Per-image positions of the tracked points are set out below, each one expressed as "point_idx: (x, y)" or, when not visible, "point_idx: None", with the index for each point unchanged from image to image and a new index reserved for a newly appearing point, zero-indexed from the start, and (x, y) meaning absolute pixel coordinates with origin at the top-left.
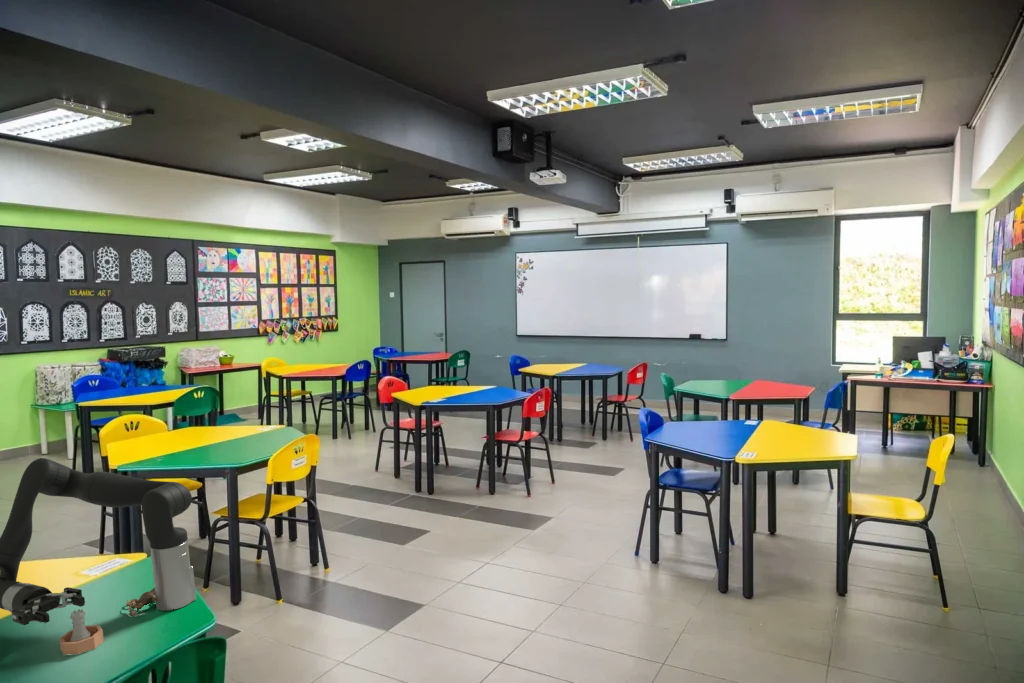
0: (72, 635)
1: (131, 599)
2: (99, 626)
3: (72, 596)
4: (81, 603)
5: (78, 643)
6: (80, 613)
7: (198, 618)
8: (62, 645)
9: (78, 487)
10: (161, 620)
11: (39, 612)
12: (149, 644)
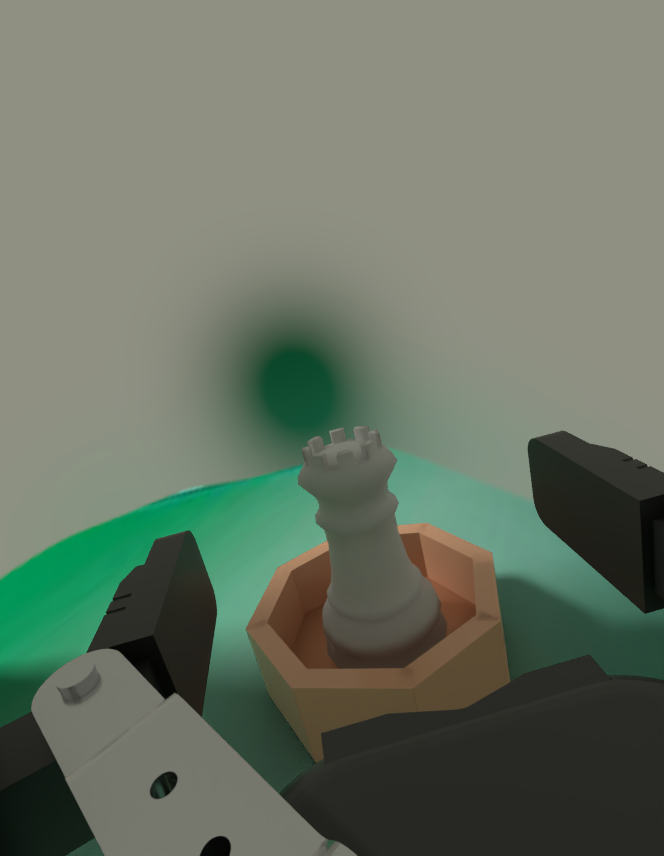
0: (418, 580)
1: None
2: (258, 608)
3: (153, 629)
4: (206, 571)
5: (420, 528)
6: (336, 436)
7: (45, 560)
8: (493, 562)
9: None
10: (54, 631)
11: (631, 471)
12: (241, 513)
